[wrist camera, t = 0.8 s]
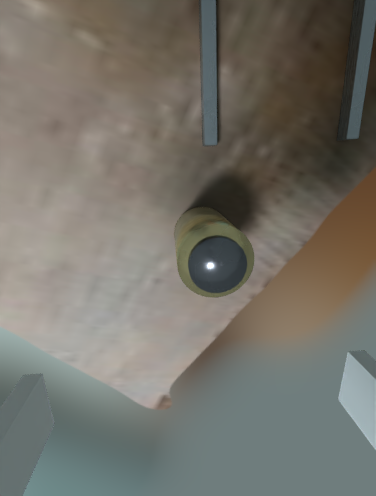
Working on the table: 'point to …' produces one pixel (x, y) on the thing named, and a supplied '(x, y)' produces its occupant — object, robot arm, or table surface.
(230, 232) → the yellow jar
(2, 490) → the robot arm
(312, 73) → the table surface
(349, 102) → the flange cradle
